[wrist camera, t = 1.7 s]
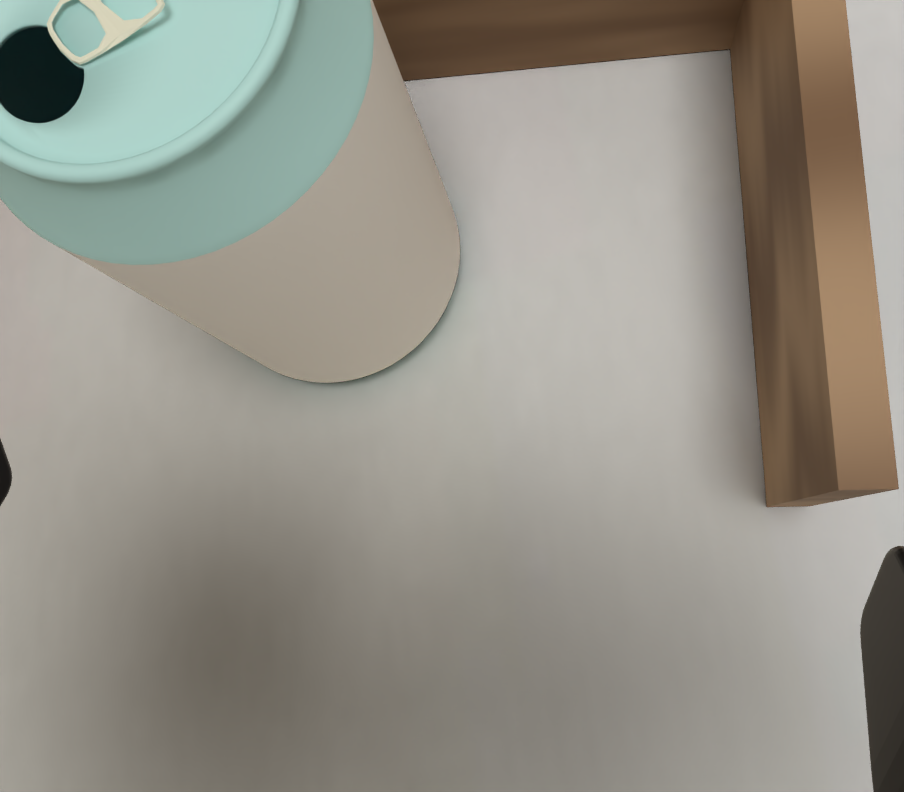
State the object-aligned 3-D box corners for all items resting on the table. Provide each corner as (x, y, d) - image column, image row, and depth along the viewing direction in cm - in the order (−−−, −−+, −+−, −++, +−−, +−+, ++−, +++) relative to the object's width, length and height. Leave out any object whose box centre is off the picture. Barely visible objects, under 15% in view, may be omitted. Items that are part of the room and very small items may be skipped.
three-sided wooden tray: (809, 506, 21) (898, 489, 15) (-66, 522, 24) (-274, 514, 18) (765, 12, 23) (826, -170, 17) (-23, 93, 27) (-194, -35, 21)
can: (431, 410, 22) (268, 259, 11) (194, 361, 24) (-180, 181, 12) (488, 167, 23) (393, -210, 12) (257, 133, 25) (-32, -236, 13)
